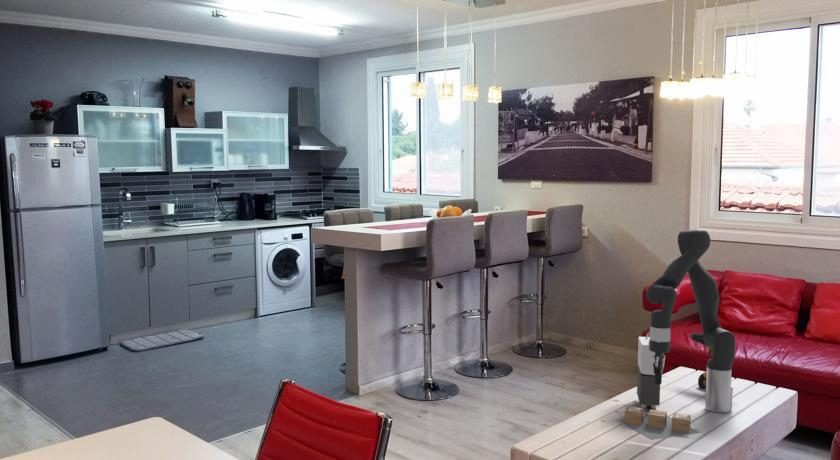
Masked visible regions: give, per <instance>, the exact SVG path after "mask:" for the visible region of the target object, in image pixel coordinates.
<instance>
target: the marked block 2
mask: <svg viewBox="0 0 840 460" xmlns="http://www.w3.org/2000/svg"><path fill="white" fill-rule="evenodd" d="M671 418H672V431H676V432H683V433H689V431H690V427H691V421H692V420H691V419H692V415H691V414H686V413H678V412H673V414H672V416H671Z"/></svg>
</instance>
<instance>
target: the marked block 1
mask: <svg viewBox="0 0 840 460" xmlns="http://www.w3.org/2000/svg"><path fill="white" fill-rule="evenodd" d="M644 413H645V408H642V407H636V406H629V405H628V406H627V407H626V409H625V411H624V418H625V424H631V425H637V426H641V425H642V423H643V421H644V416H645V414H644Z"/></svg>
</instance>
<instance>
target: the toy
mask: <svg viewBox="0 0 840 460" xmlns="http://www.w3.org/2000/svg"><path fill="white" fill-rule="evenodd" d="M649 334H650V331H648V332H647V334H646V336H638V340H637V341H638V342H637V345H638V346H637V376H636V379H637V380H636V395H637V398H638V401H639V404H640V408H644V409H645V408H647V406H650V408H651V409H652V410H656V409H657V406H660V401H661V400H660V398H661V384H660V385H658V384H655V374H654V368H653V363H654V361H653V356H654V355H655V352H652V351H650V350H649Z"/></svg>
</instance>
